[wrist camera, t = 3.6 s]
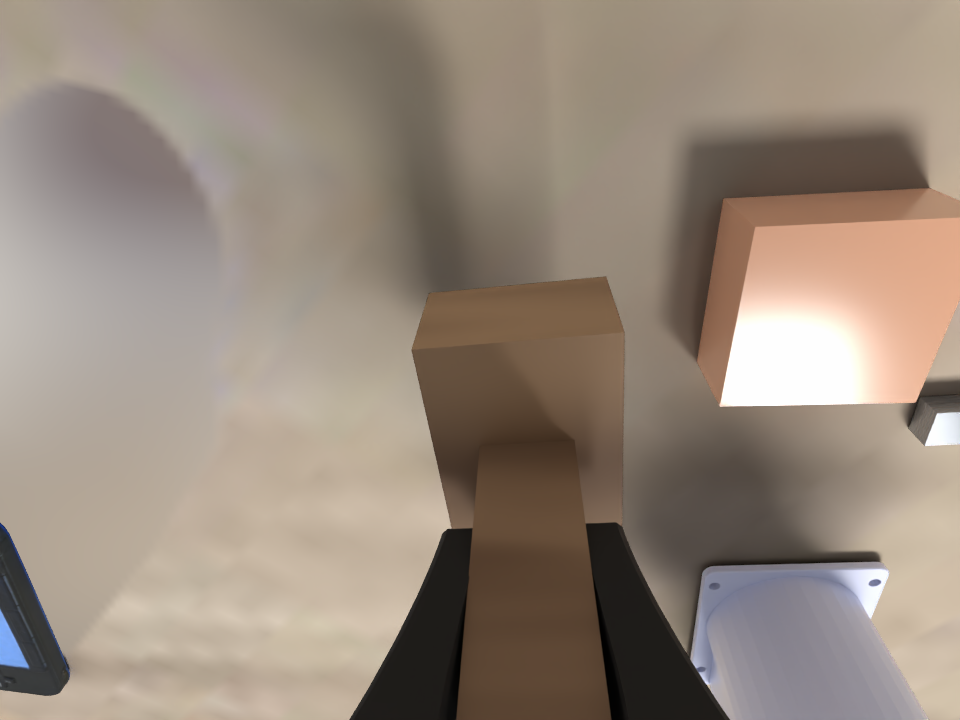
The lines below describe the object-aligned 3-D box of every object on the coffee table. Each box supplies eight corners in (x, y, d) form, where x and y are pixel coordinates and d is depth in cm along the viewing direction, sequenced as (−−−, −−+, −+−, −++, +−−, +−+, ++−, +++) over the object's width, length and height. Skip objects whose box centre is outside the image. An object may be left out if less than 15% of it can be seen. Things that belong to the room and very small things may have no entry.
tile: (865, 353, 20) (915, 402, 18) (694, 358, 21) (719, 406, 18) (923, 185, 17) (995, 215, 14) (720, 195, 17) (755, 227, 15)
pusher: (607, 524, 16) (670, 882, 10) (475, 529, 17) (446, 874, 10) (606, 276, 12) (714, 606, 6) (429, 292, 13) (328, 614, 6)
